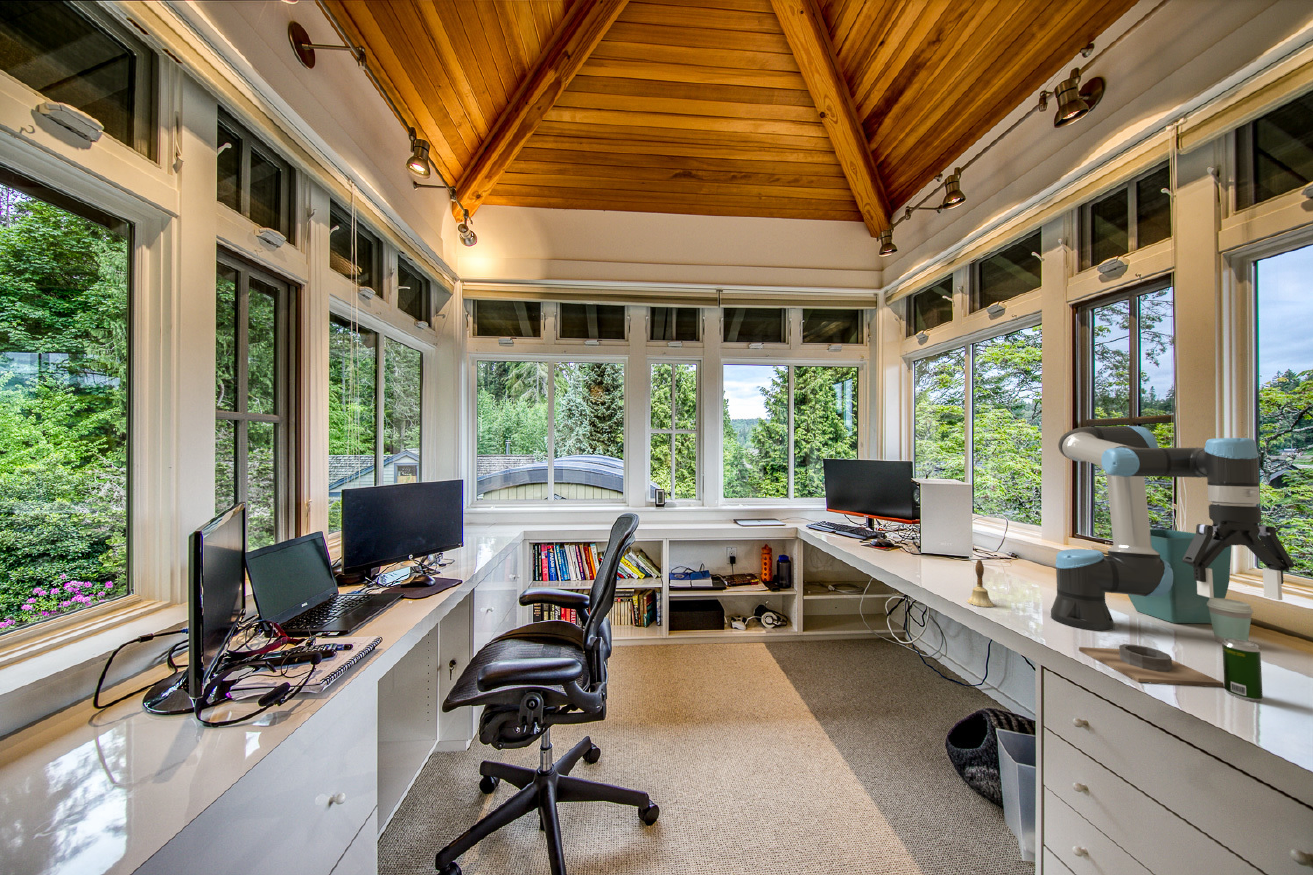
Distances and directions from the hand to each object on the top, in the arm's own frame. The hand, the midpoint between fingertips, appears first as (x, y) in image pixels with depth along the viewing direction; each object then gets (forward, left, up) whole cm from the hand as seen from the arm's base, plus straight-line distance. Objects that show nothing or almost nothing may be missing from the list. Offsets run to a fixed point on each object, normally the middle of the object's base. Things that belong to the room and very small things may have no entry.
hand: (1239, 597), depth 105 cm
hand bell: (-62, -22, -22) cm, 69 cm away
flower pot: (-55, +34, -22) cm, 68 cm away
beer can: (0, 0, -22) cm, 22 cm away
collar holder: (-13, -9, -22) cm, 27 cm away
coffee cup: (-33, +30, -22) cm, 50 cm away
